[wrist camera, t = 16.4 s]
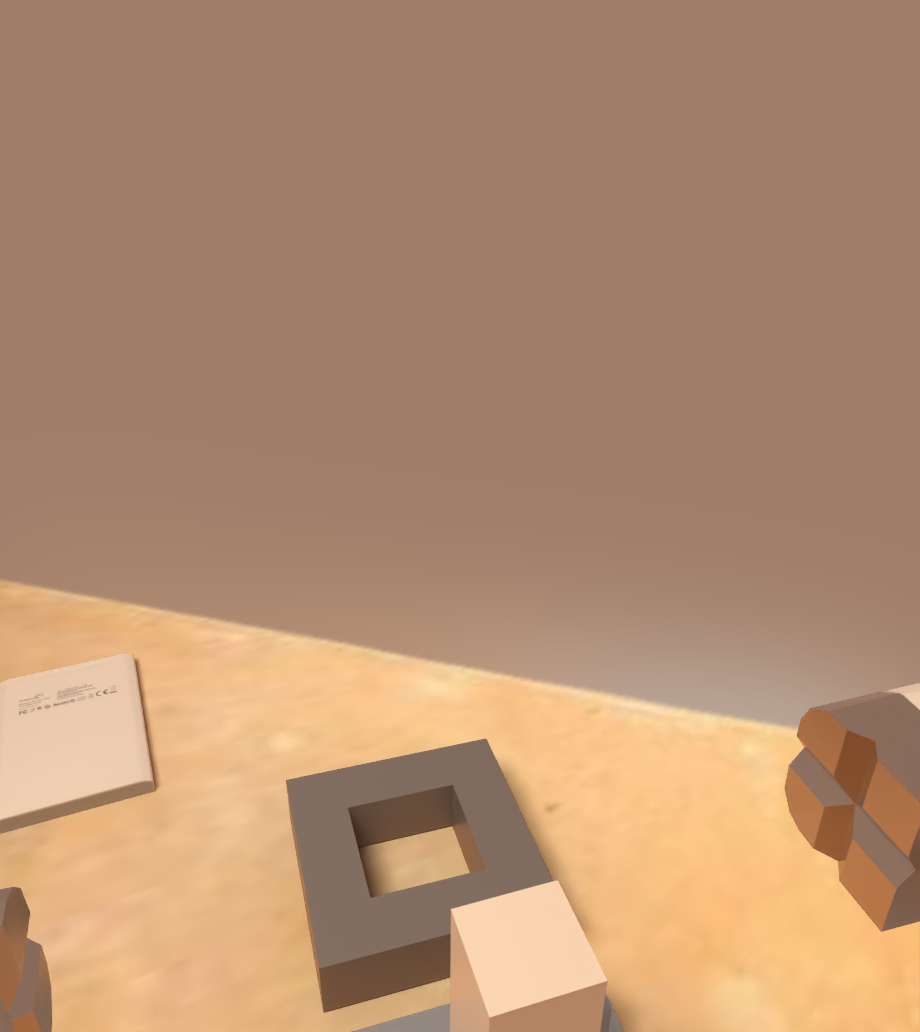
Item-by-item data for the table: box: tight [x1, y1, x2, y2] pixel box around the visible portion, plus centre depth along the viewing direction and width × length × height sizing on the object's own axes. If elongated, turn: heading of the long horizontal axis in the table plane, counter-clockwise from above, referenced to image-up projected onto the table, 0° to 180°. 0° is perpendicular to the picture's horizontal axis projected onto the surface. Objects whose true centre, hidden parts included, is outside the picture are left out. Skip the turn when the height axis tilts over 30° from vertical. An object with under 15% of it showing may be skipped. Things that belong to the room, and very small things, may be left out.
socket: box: [286, 739, 553, 1012], centre depth 43 cm, size 11×11×3 cm
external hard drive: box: [0, 653, 155, 834], centre depth 53 cm, size 2×8×12 cm
